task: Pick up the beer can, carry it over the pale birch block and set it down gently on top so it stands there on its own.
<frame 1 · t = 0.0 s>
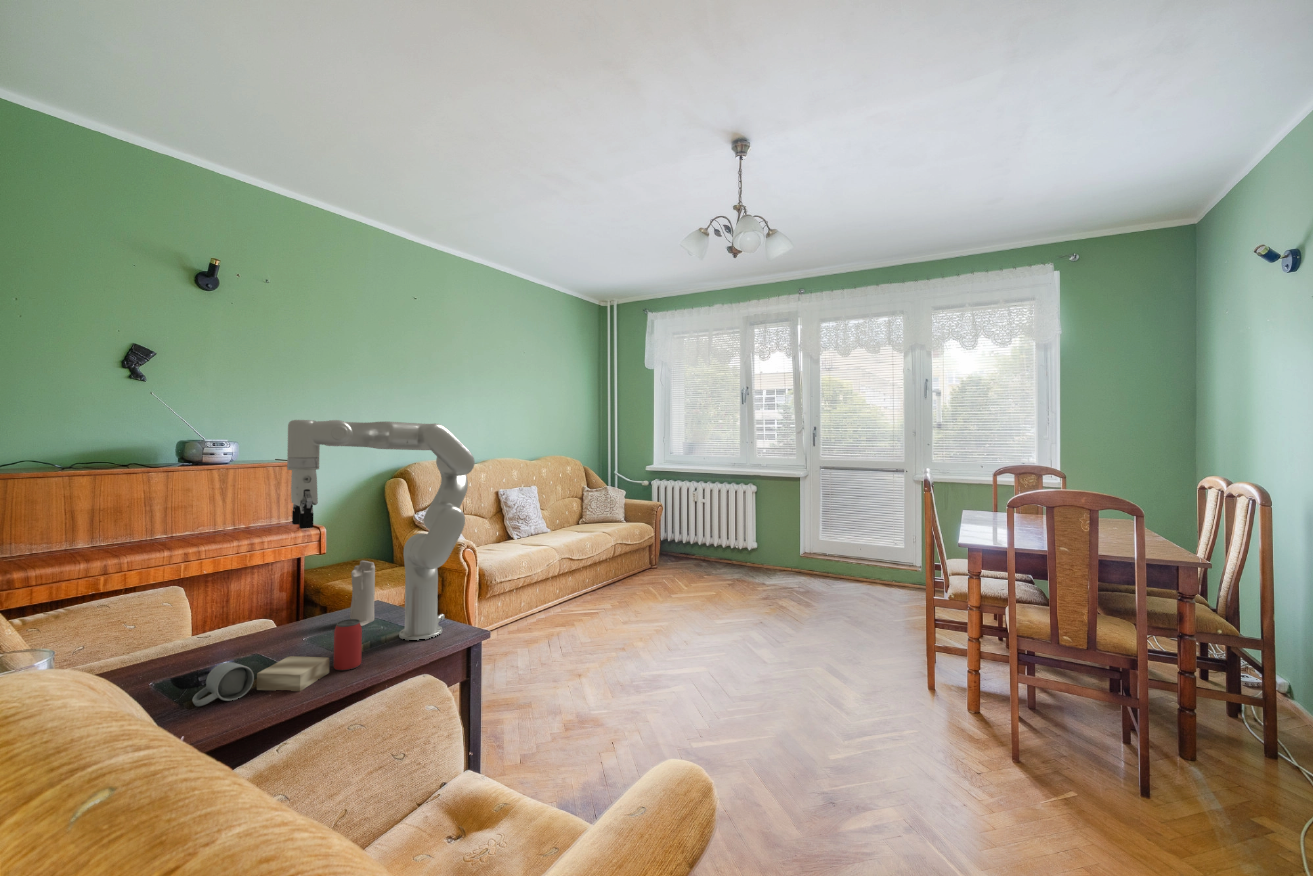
hand: (302, 526, 155), 37 cm above the table, tool pointing down, fingers open, 9 cm apart
beige boot: (355, 624, 185), on the table
birch block: (294, 680, 141), on the table
ceramic mug: (222, 699, 132), on the table
beer can: (347, 667, 151), on the table
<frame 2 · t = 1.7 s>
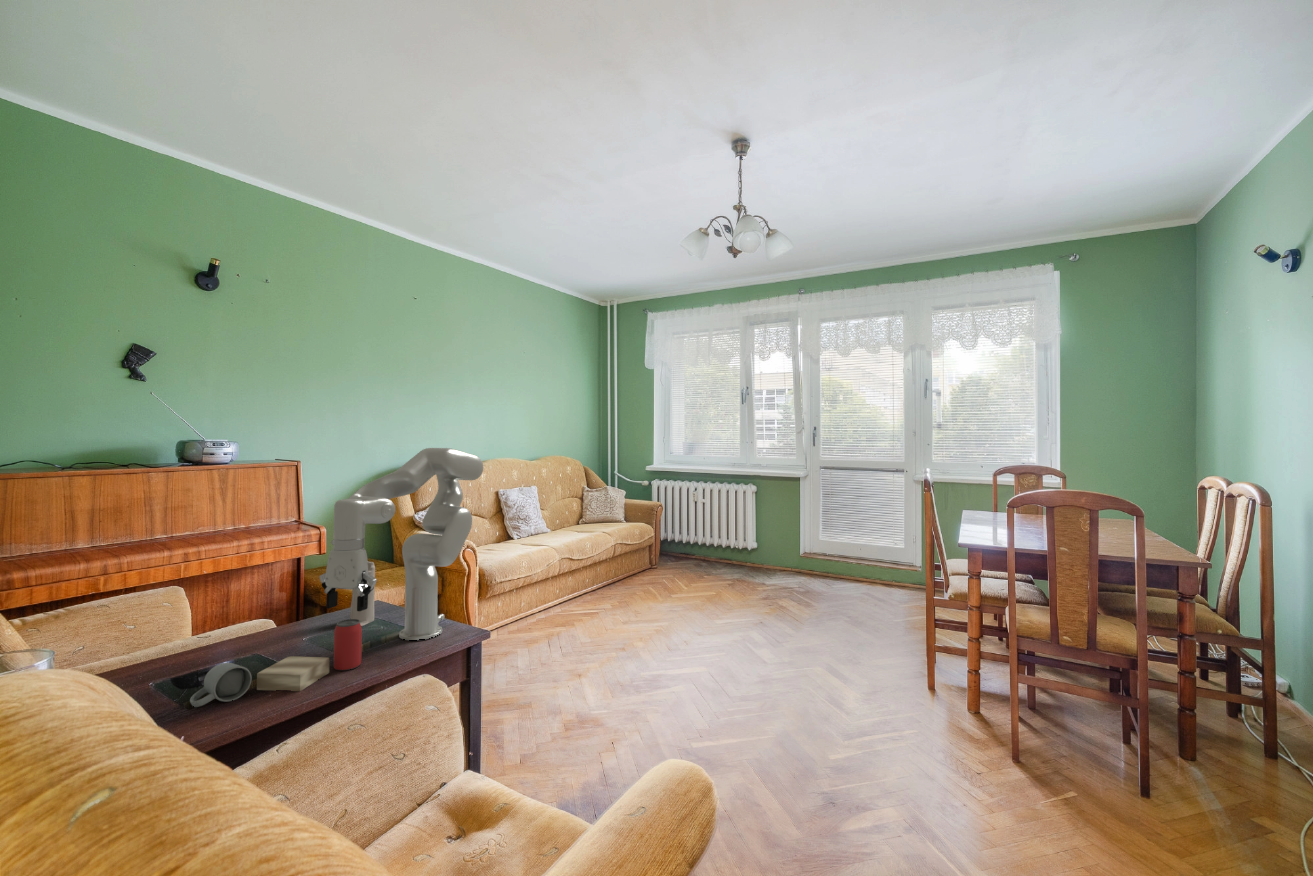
hand: (346, 608, 150), 16 cm above the table, tool pointing down, fingers open, 9 cm apart
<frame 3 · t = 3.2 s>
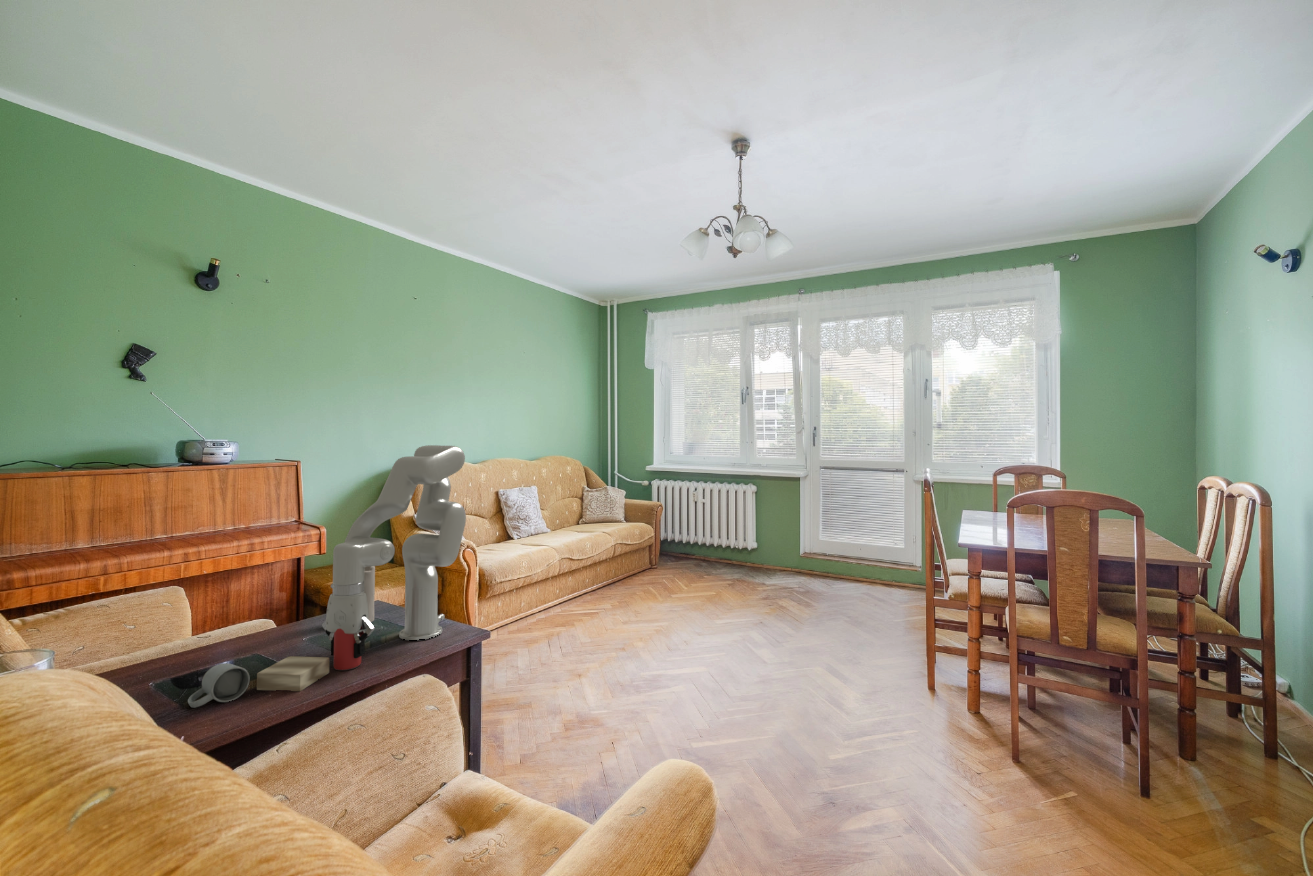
hand: (347, 654, 151), 3 cm above the table, tool pointing down, fingers closed on beer can, 6 cm apart
beer can: (347, 667, 151), on the table, touching gripper
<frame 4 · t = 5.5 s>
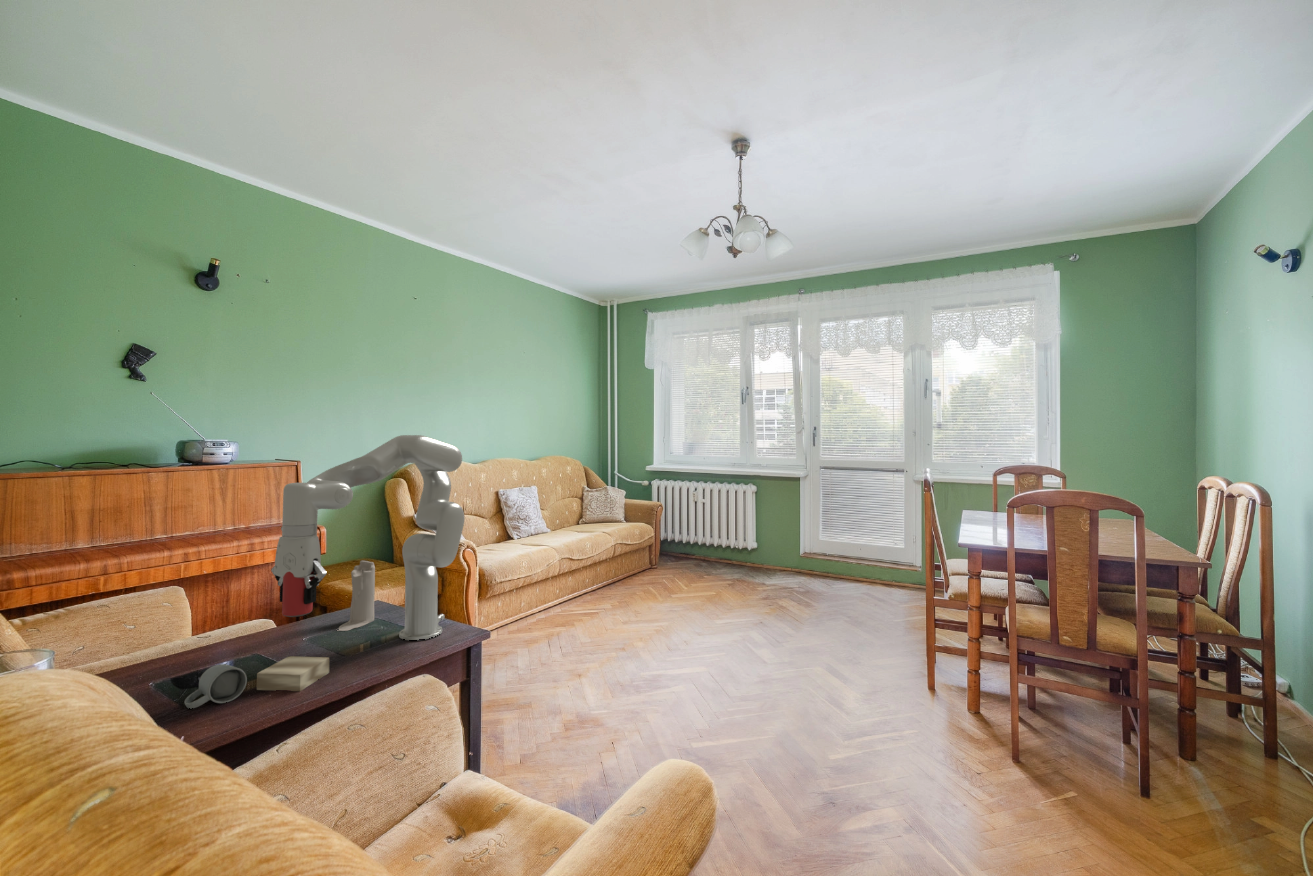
hand: (297, 601, 142), 20 cm above the table, tool pointing down, fingers closed on beer can, 6 cm apart
beer can: (297, 614, 142), point 17 cm above the table, touching gripper
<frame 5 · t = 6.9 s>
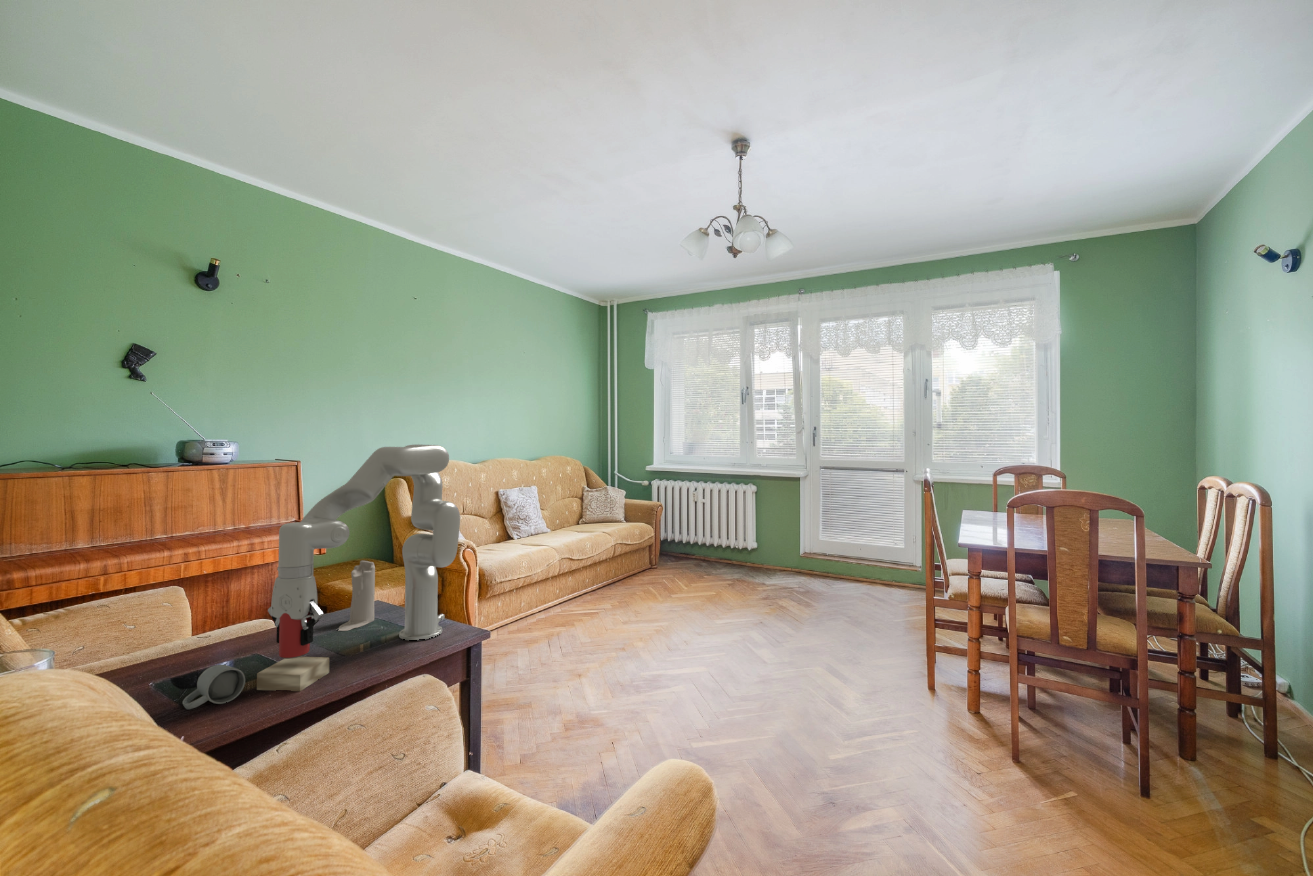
hand: (294, 641, 141), 10 cm above the table, tool pointing down, fingers closed on beer can, 6 cm apart
beer can: (294, 655, 141), point 6 cm above the table, touching gripper
when the fingers open (8 cm above the table, at t = 7.7 s): beer can stays where it is, resting on birch block.
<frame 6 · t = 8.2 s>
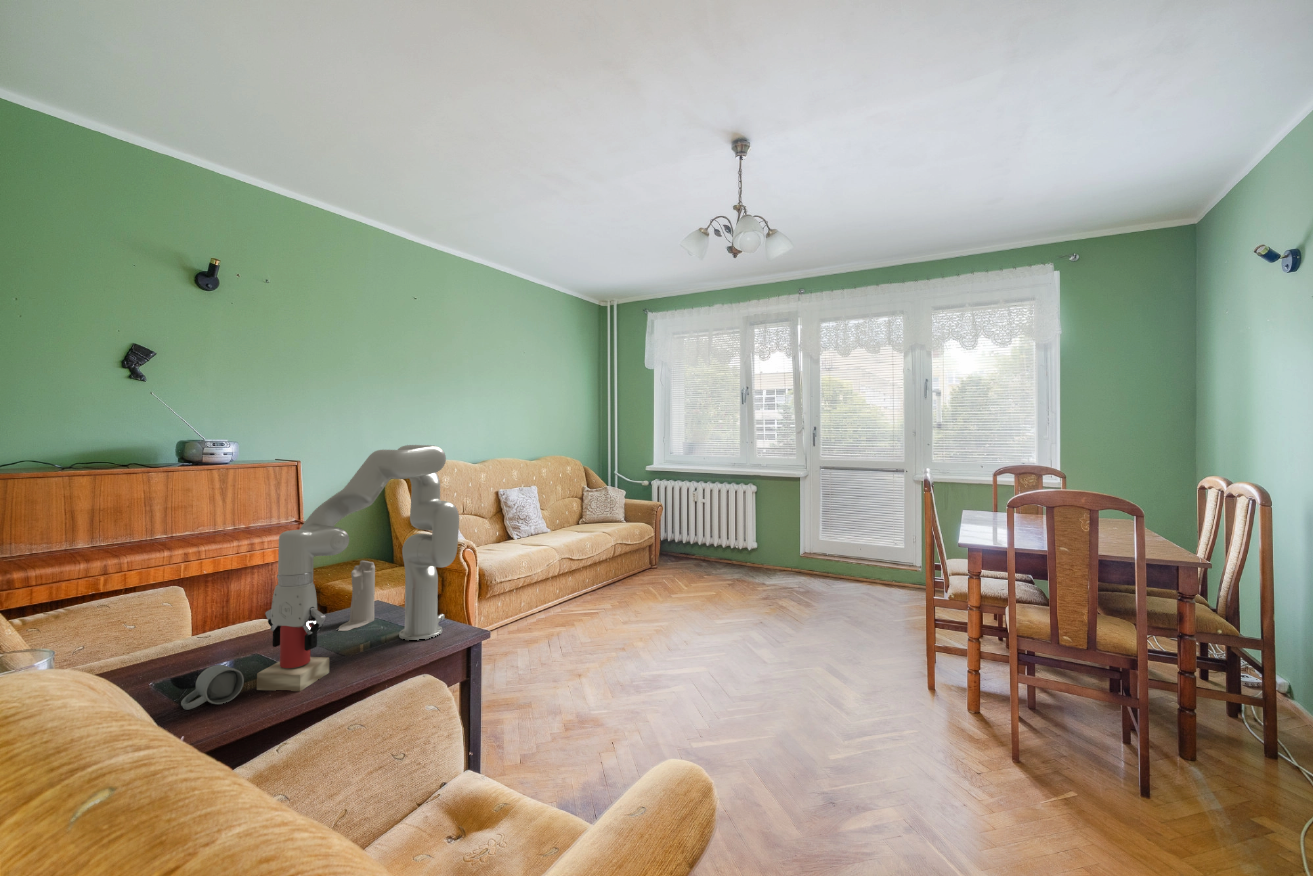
hand: (294, 646, 141), 9 cm above the table, tool pointing down, fingers open, 9 cm apart
beer can: (295, 665, 142), point 4 cm above the table, touching birch block
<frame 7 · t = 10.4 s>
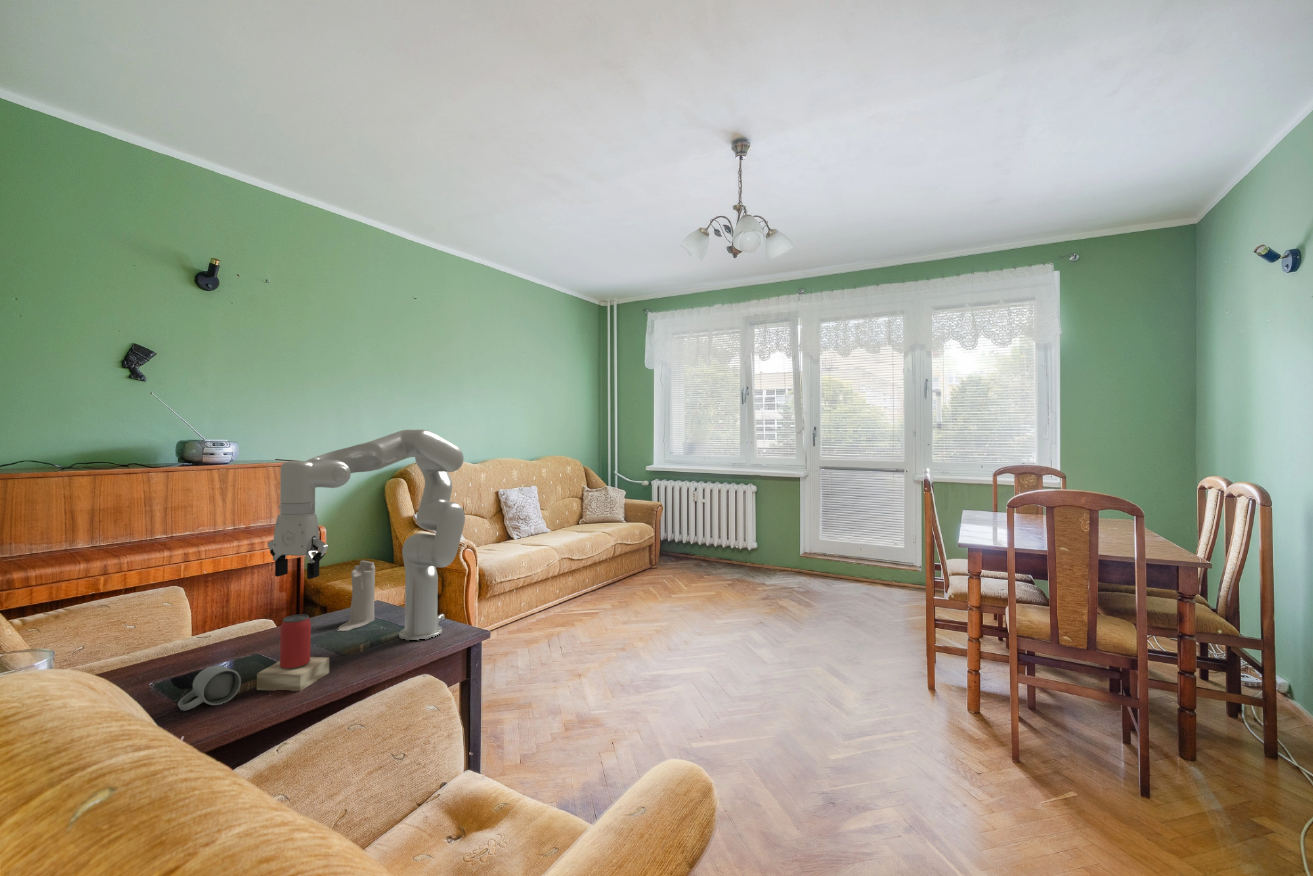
hand: (297, 576, 142), 26 cm above the table, tool pointing down, fingers open, 9 cm apart
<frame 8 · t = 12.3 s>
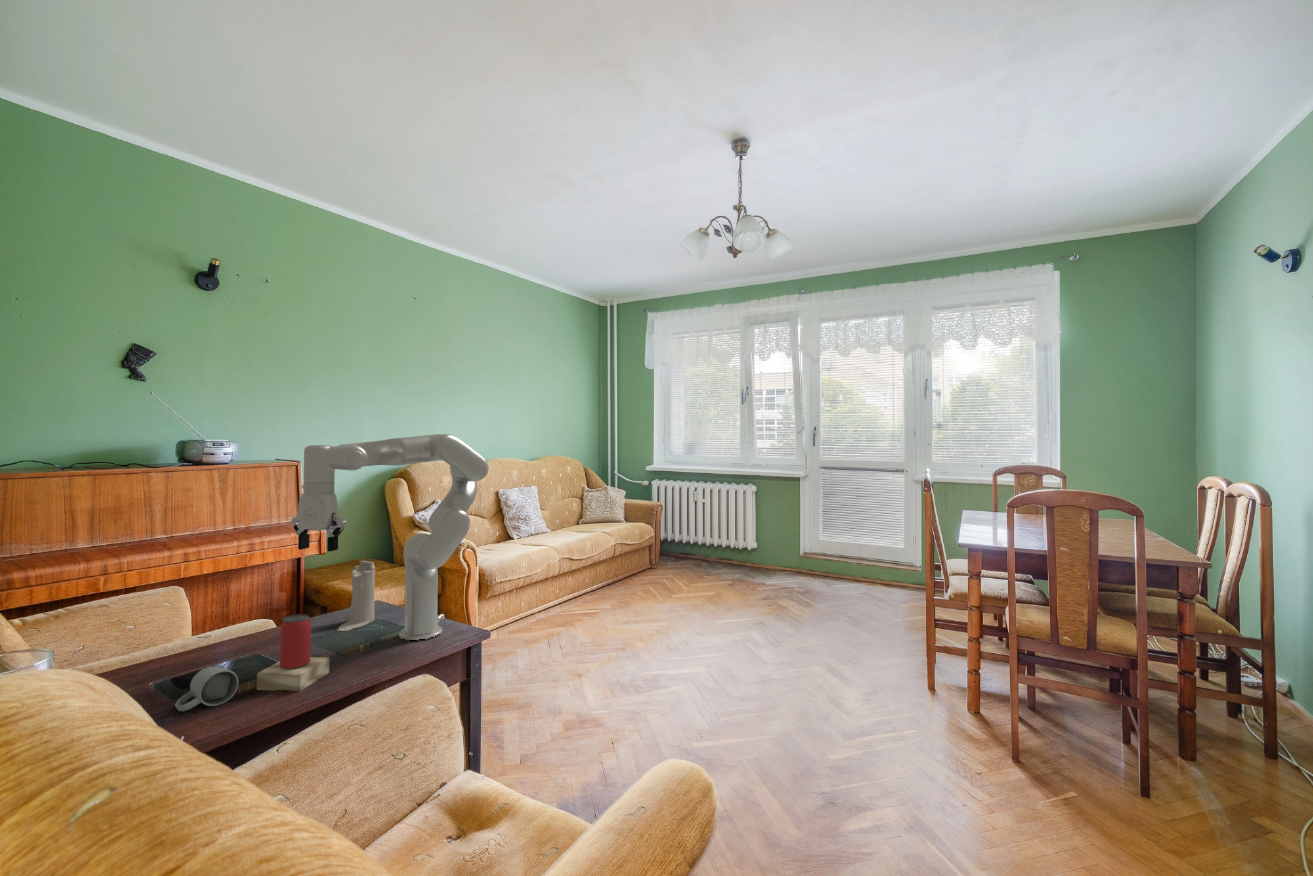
hand: (318, 549, 157), 30 cm above the table, tool pointing down, fingers open, 9 cm apart
at the end: beer can 0.2 cm from the birch block (horizontally); beer can tilted 0°; beer can touching birch block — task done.
